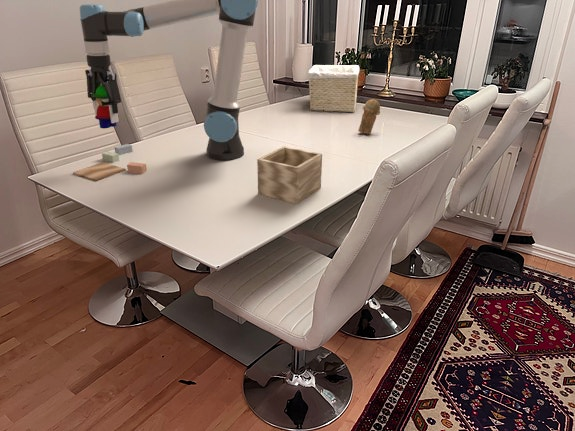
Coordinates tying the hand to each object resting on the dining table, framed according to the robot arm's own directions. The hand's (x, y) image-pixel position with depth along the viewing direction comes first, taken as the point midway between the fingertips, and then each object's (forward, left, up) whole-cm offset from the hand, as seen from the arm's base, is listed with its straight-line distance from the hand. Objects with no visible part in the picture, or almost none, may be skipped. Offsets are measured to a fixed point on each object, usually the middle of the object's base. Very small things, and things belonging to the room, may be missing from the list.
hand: (107, 120), depth 172 cm
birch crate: (-67, -17, -18) cm, 72 cm away
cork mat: (+1, +6, -18) cm, 19 cm away
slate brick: (+11, -14, -18) cm, 25 cm away
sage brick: (+8, -5, -18) cm, 20 cm away
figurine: (-62, -95, -18) cm, 115 cm away
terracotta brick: (-10, -2, -18) cm, 21 cm away
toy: (-1, 0, -3) cm, 3 cm away
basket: (-24, -132, -18) cm, 136 cm away
